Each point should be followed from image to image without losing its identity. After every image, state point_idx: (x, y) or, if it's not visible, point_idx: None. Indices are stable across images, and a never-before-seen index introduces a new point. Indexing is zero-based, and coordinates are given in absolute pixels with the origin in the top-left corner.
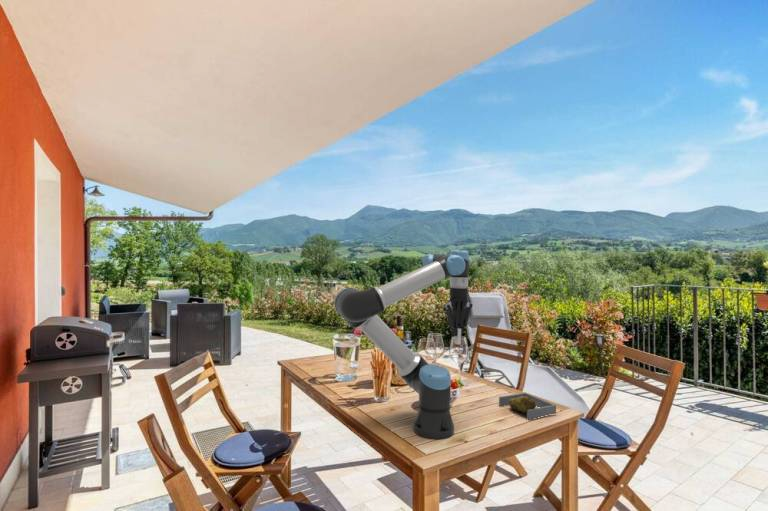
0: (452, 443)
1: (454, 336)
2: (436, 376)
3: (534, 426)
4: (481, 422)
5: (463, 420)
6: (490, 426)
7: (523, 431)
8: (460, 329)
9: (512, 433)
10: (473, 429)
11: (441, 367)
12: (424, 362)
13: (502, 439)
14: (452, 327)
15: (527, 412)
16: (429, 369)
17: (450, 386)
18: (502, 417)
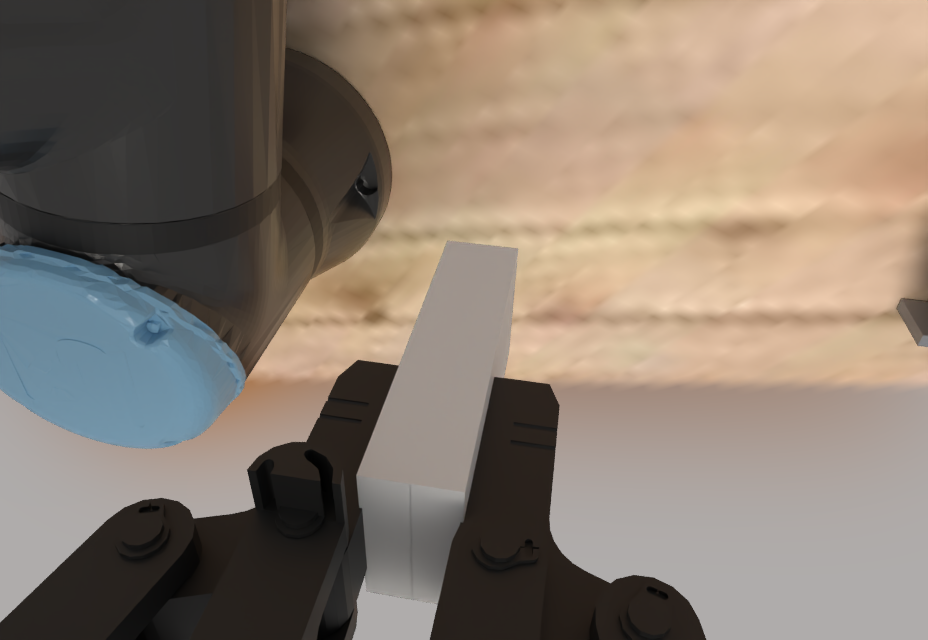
0: (307, 303)
1: (415, 330)
2: (70, 431)
3: (833, 368)
4: (613, 199)
5: (533, 124)
6: (614, 261)
7: (716, 375)
8: (440, 588)
9: (644, 363)
10: (497, 245)
11: (146, 366)
12: (15, 148)
13: (545, 377)
14: (248, 511)
15: (915, 329)
16: (23, 352)
17: (254, 365)
18: (805, 205)
